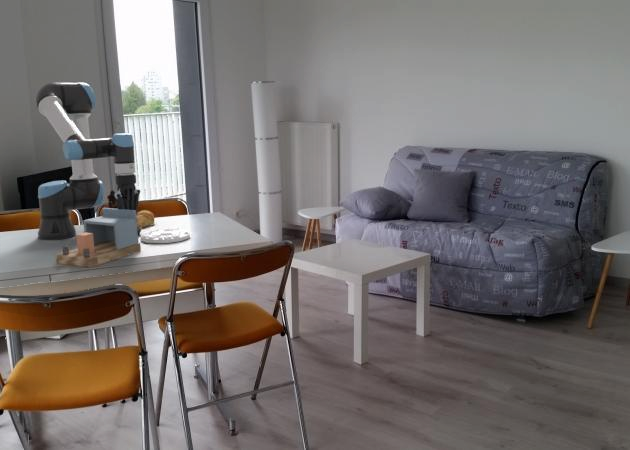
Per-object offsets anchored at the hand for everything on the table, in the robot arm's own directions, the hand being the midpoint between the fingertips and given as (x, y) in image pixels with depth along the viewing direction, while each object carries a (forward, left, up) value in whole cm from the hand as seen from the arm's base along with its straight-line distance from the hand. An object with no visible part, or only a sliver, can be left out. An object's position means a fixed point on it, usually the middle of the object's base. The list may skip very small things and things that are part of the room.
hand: (130, 233), depth 248 cm
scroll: (-18, +15, -6) cm, 24 cm away
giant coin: (+3, +17, -6) cm, 19 cm away
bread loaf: (-26, +38, -6) cm, 46 cm away
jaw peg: (0, -23, -5) cm, 24 cm away
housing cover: (0, -10, -2) cm, 10 cm away
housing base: (0, -17, -5) cm, 17 cm away
